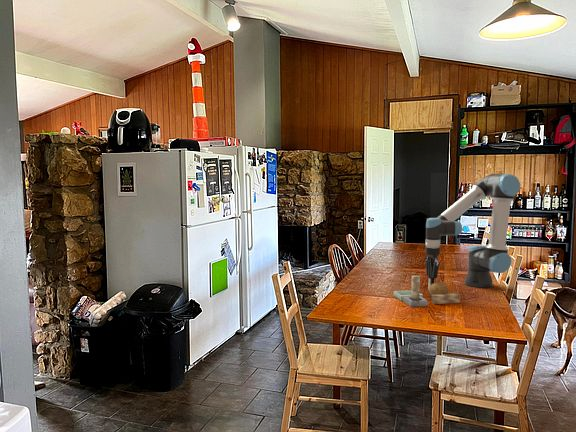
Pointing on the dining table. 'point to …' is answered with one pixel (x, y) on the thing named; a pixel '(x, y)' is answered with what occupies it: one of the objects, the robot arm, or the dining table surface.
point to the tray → (403, 294)
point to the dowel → (415, 288)
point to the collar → (415, 302)
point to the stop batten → (445, 298)
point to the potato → (438, 288)
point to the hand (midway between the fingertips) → (431, 289)
